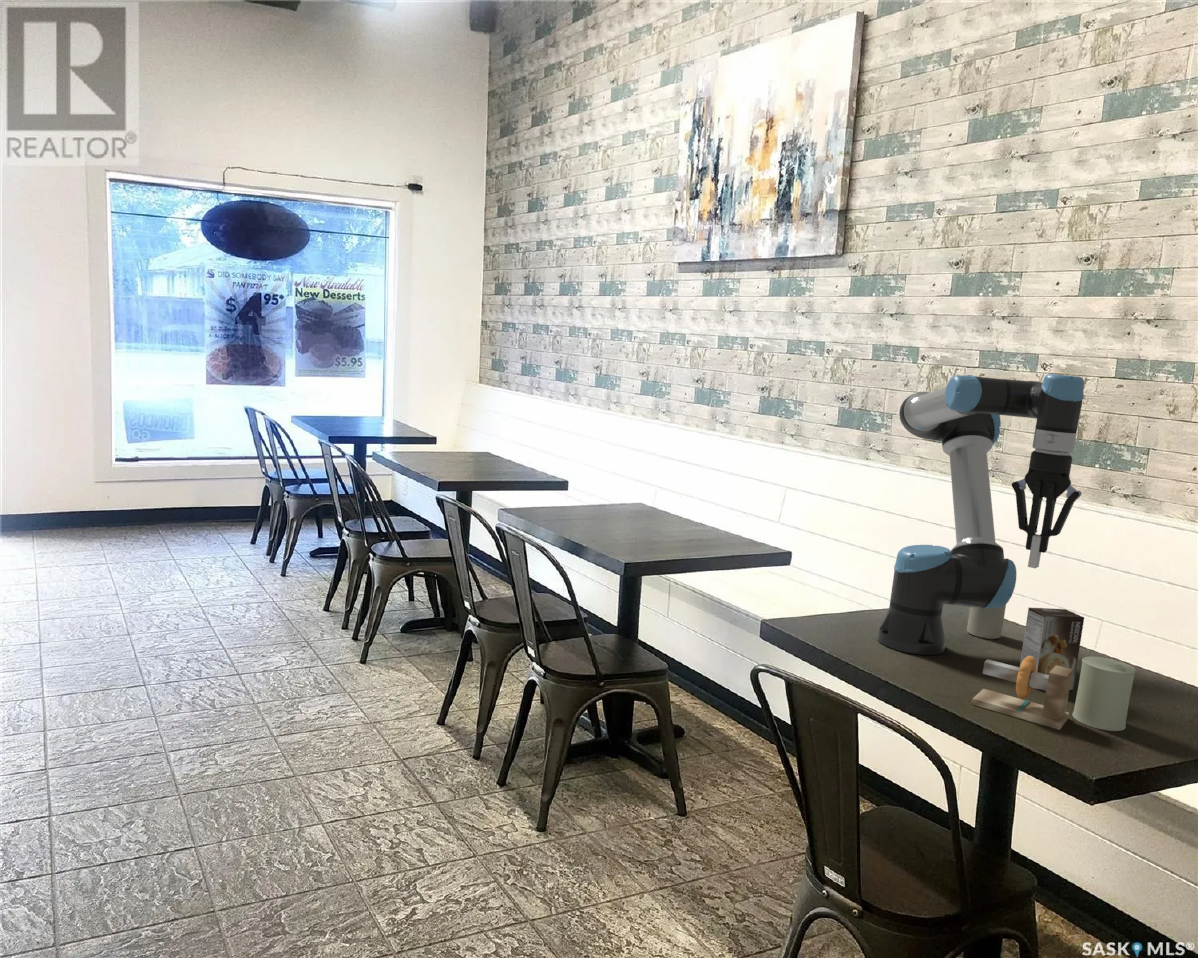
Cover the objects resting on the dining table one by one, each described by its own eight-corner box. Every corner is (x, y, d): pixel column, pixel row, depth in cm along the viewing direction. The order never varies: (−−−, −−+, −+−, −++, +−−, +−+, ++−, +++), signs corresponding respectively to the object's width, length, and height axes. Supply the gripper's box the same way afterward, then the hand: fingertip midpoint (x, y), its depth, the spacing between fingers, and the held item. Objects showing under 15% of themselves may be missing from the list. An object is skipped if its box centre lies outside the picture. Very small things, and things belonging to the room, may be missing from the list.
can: (1102, 733, 178) (1113, 671, 176) (1061, 713, 186) (1071, 654, 184) (1136, 729, 182) (1147, 668, 180) (1094, 710, 190) (1104, 652, 188)
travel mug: (1005, 636, 237) (1017, 566, 234) (992, 641, 231) (1004, 569, 229) (974, 627, 243) (985, 559, 240) (961, 632, 237) (972, 562, 234)
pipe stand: (971, 704, 187) (979, 655, 185) (982, 694, 193) (990, 646, 192) (1059, 729, 177) (1068, 678, 176) (1068, 718, 184) (1076, 668, 182)
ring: (1012, 700, 182) (1019, 660, 181) (1022, 690, 189) (1028, 651, 187) (1023, 703, 181) (1030, 663, 180) (1033, 693, 187) (1039, 654, 186)
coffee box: (1054, 679, 207) (1066, 608, 204) (1073, 690, 201) (1086, 617, 198) (1016, 678, 205) (1028, 606, 203) (1034, 689, 199) (1046, 615, 197)
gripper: (1013, 448, 191) (994, 562, 195) (1083, 458, 183) (1063, 576, 187) (1022, 446, 197) (1004, 557, 201) (1091, 456, 189) (1071, 571, 193)
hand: (1033, 566), depth 194 cm, fingers closed
